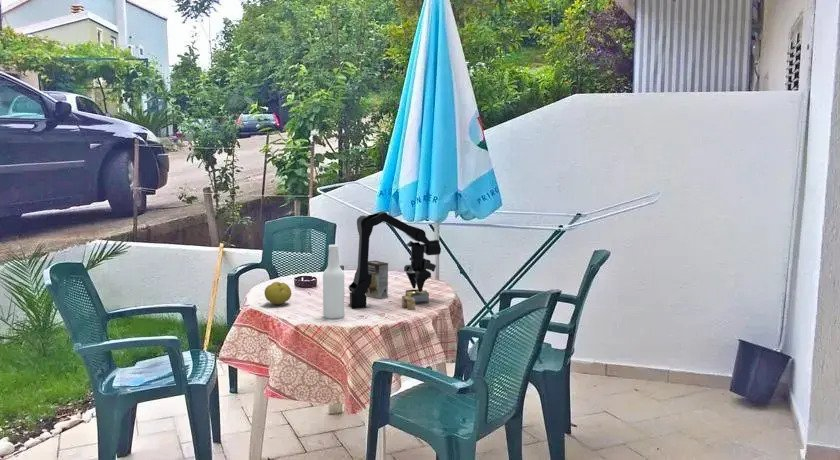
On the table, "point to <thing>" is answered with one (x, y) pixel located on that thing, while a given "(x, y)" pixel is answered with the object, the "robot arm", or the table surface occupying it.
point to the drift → (404, 305)
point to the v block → (419, 297)
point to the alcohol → (333, 286)
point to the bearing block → (409, 302)
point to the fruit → (278, 293)
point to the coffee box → (378, 279)
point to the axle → (415, 292)
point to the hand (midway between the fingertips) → (417, 290)
